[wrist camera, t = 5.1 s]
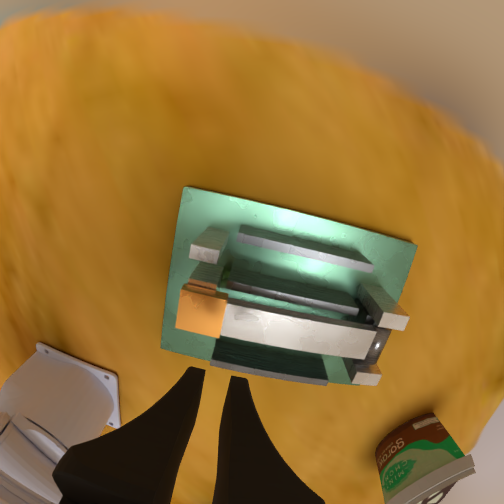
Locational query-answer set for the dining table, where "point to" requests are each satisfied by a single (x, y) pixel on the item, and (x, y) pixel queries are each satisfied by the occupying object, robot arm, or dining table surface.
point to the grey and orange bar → (277, 326)
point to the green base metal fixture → (283, 281)
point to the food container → (420, 462)
